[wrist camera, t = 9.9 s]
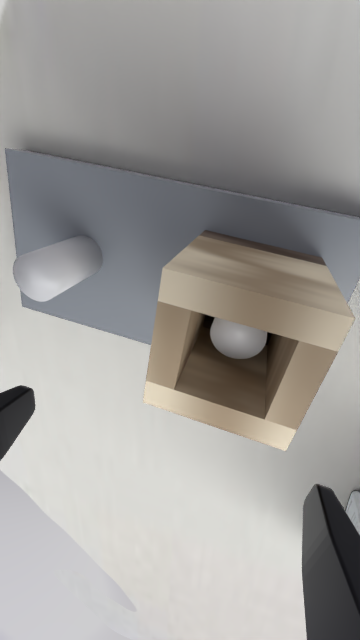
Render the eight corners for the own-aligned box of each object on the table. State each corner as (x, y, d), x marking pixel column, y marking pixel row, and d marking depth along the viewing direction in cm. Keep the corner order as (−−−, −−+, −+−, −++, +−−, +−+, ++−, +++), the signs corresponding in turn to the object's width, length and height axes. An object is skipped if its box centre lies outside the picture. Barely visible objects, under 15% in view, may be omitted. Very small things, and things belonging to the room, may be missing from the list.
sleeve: (184, 326, 19) (142, 402, 13) (204, 230, 16) (162, 267, 10) (281, 355, 18) (285, 451, 12) (322, 257, 15) (355, 318, 9)
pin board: (36, 298, 23) (-33, 336, 18) (24, 149, 18) (-76, 142, 13) (303, 376, 20) (313, 450, 14) (375, 220, 15) (429, 248, 10)
